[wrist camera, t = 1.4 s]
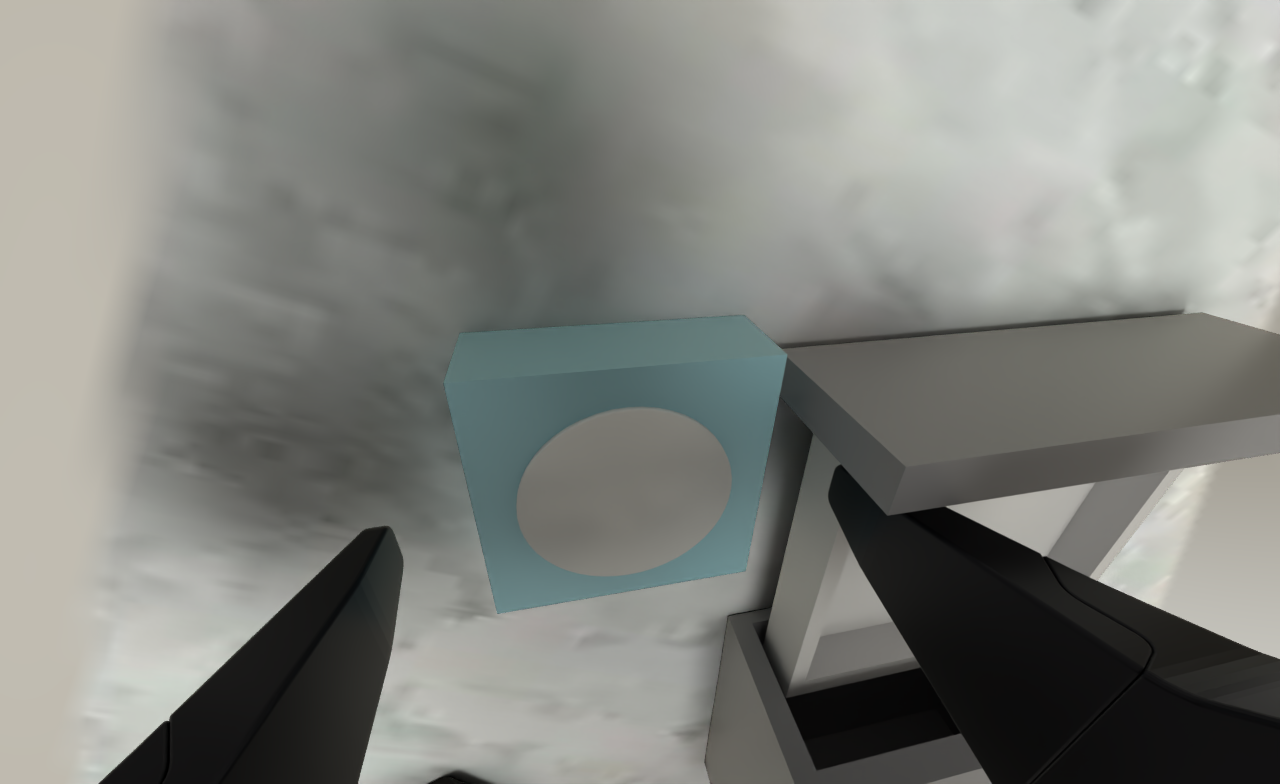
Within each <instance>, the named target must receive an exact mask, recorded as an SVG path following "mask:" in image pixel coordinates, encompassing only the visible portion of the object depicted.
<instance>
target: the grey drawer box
mask: <svg viewBox="0 0 1280 784" xmlns="http://www.w3.org/2000/svg"><path fill="white" fill-rule="evenodd" d="M771 610H772V608H769V609H764V610H758V611H753V612H748V613H742V614H737V615H732V616H728V622H727V628H726V634H725V640H724V646H723V652H722V658H721V664H720V671H719V677H718V683H717V689H716V695H715V701H714V707H713V713H712V720H711V726H710V732H709V738H708V744H707V750H706V756H705V765H706V769H707V773H708V777H709V780H710V784H992V783H991V782H990V780H989V779H988V777H987V775H986V774H985V772H984V770H983V769H982V767H981V765H980V764H979V762H978V760H977V759H976V757H975V756H974V754H973V752H972V751H971V749H970V747H969V746H968V744H967V742H966V741H965V739H964V737H963V736H962V734H961V732H960V731H959V729H958V728H957V726H956V724H955V723H954V721H953V719H952V718H951V716H950V714H949V713H948V711H947V709H946V708H945V706H944V705H943V703H942V701H941V700H940V698H939V696H938V695H937V693H936V691H935V690H934V688H933V686H932V685H931V683H930V682H929V680H928V678H927V677H926V675H925V673H924V672H923V670H922V668H916V669H912V670H907V671H903V672H899V673H894V674H890V675H885V676H881V677H876V678H872V679H868V680H863V681H859V682H854V683H850V684H846V685H841V686H837V687H832V688H828V689H824V690H819V691H815V692H810V693H806V694H801V695H797V696H793V697H788V698H786V697H785V695H784V693H783V691H782V688H781V686H780V684H779V681H778V679H777V677H776V675H775V672H774V670H773V668H772V665H771V663H770V661H769V659H768V656H767V654H766V652H765V649H764V647H763V644H764V640H765V635H766V631H767V627H768V623H769V619H770V614H771Z"/></svg>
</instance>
